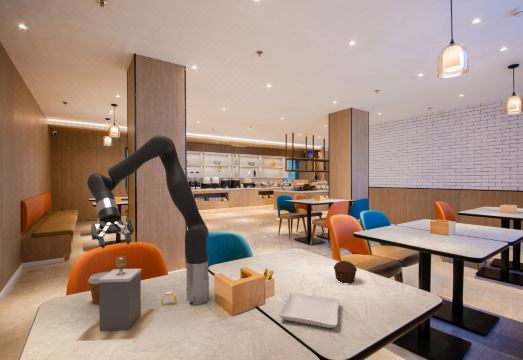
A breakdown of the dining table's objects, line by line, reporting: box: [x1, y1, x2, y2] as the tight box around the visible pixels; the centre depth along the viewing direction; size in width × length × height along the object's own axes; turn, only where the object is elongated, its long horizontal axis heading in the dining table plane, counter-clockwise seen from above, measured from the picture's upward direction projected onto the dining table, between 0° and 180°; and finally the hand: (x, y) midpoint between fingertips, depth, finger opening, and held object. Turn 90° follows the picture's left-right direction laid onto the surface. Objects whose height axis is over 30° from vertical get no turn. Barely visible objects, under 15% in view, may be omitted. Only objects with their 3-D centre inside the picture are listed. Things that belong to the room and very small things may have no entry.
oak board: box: [75, 308, 159, 342], centre depth 97 cm, size 20×20×1 cm
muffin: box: [333, 260, 358, 284], centre depth 138 cm, size 12×11×10 cm
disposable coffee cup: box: [88, 271, 110, 305], centre depth 115 cm, size 10×10×12 cm
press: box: [98, 268, 142, 331], centre depth 97 cm, size 12×10×18 cm
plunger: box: [115, 256, 127, 275], centre depth 97 cm, size 7×7×21 cm
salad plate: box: [278, 292, 341, 329], centre depth 105 cm, size 21×21×3 cm
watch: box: [160, 290, 177, 306], centre depth 111 cm, size 6×3×6 cm, turn 98°
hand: (116, 245), depth 100 cm, fingers open, 8 cm apart
